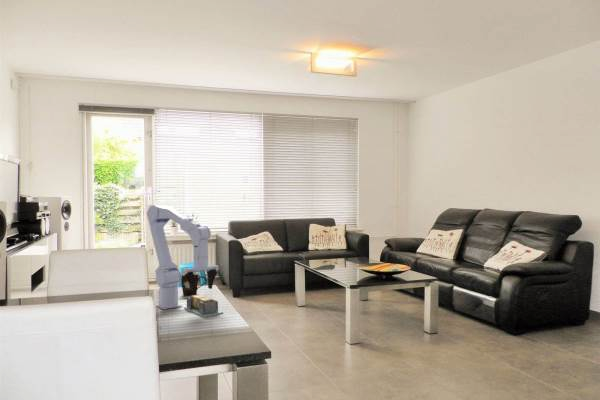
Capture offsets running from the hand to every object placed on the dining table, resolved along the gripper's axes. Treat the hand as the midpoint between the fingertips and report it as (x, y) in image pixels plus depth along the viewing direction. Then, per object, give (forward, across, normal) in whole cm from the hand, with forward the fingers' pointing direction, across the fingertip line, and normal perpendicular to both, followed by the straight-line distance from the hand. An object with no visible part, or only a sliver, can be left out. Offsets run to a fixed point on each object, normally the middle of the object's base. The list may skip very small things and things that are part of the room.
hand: (201, 289), depth 189 cm
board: (+9, 0, 0) cm, 9 cm away
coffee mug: (+9, +11, +36) cm, 39 cm away
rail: (+7, 0, 0) cm, 7 cm away
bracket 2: (+9, 0, -6) cm, 11 cm away
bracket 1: (+9, 0, +6) cm, 11 cm away
